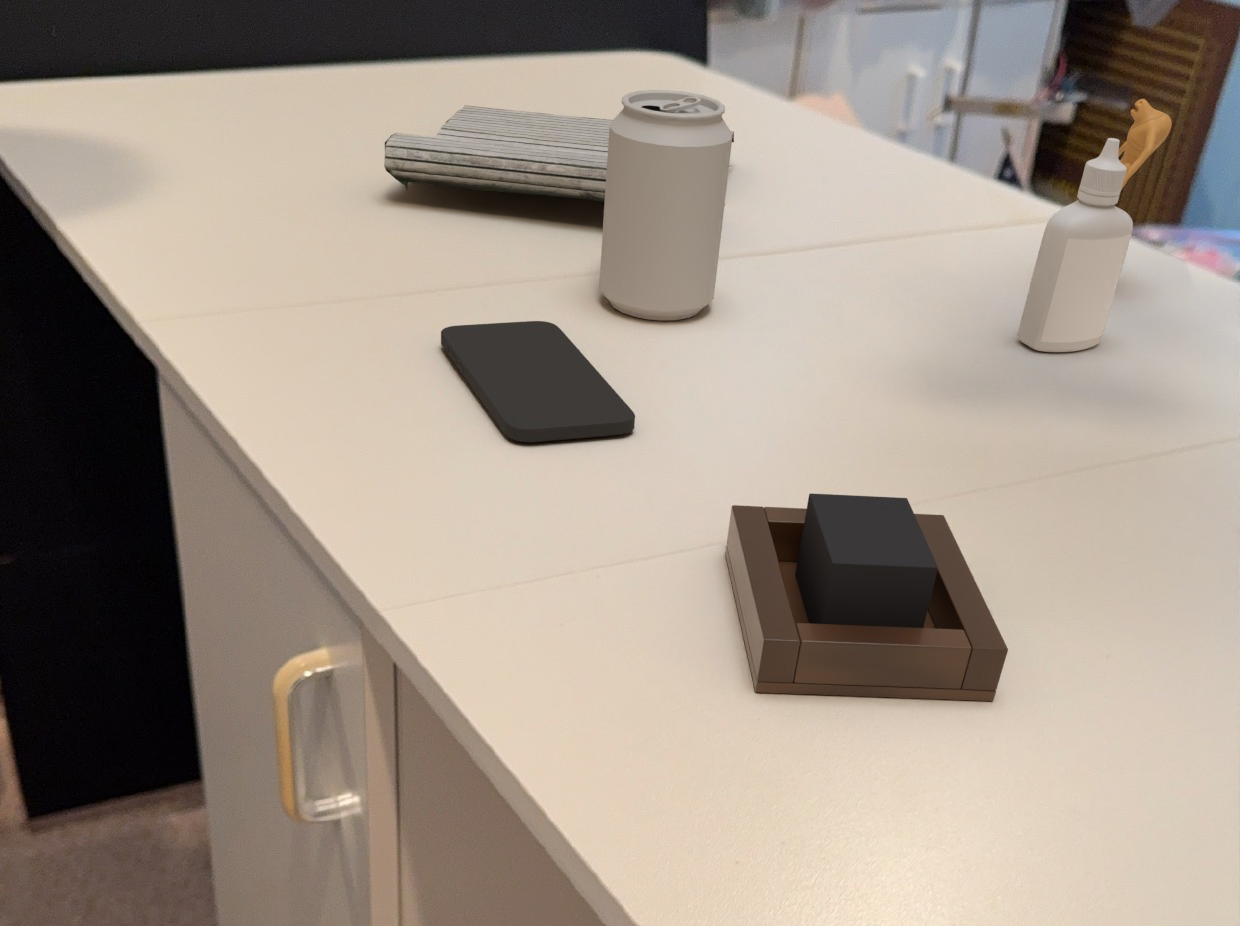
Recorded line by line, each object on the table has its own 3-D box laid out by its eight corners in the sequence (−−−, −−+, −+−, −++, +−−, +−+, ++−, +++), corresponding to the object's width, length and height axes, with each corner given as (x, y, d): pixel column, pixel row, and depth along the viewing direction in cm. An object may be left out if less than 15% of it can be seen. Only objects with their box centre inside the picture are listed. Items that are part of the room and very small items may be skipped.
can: (580, 289, 95) (591, 85, 87) (682, 281, 98) (702, 82, 90) (626, 329, 90) (643, 116, 82) (732, 320, 92) (758, 112, 85)
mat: (732, 165, 121) (740, 102, 118) (692, 247, 104) (699, 177, 101) (465, 131, 124) (466, 69, 121) (381, 206, 106) (379, 136, 103)
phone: (510, 431, 75) (434, 326, 85) (509, 447, 75) (434, 340, 86) (643, 421, 77) (553, 319, 88) (641, 435, 78) (552, 333, 88)
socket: (932, 563, 69) (944, 514, 67) (993, 701, 60) (1009, 649, 58) (724, 554, 68) (731, 504, 67) (755, 692, 59) (764, 639, 57)
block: (794, 575, 66) (809, 492, 63) (889, 578, 66) (907, 497, 64) (816, 648, 61) (832, 562, 59) (917, 652, 61) (938, 567, 59)
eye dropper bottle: (1107, 359, 92) (1169, 153, 84) (1019, 351, 92) (1072, 144, 84) (1095, 335, 95) (1153, 135, 87) (1009, 327, 95) (1060, 126, 87)
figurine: (1036, 262, 106) (1083, 79, 98) (1119, 274, 105) (1173, 90, 98) (1036, 297, 100) (1086, 105, 92) (1124, 310, 99) (1183, 117, 91)
